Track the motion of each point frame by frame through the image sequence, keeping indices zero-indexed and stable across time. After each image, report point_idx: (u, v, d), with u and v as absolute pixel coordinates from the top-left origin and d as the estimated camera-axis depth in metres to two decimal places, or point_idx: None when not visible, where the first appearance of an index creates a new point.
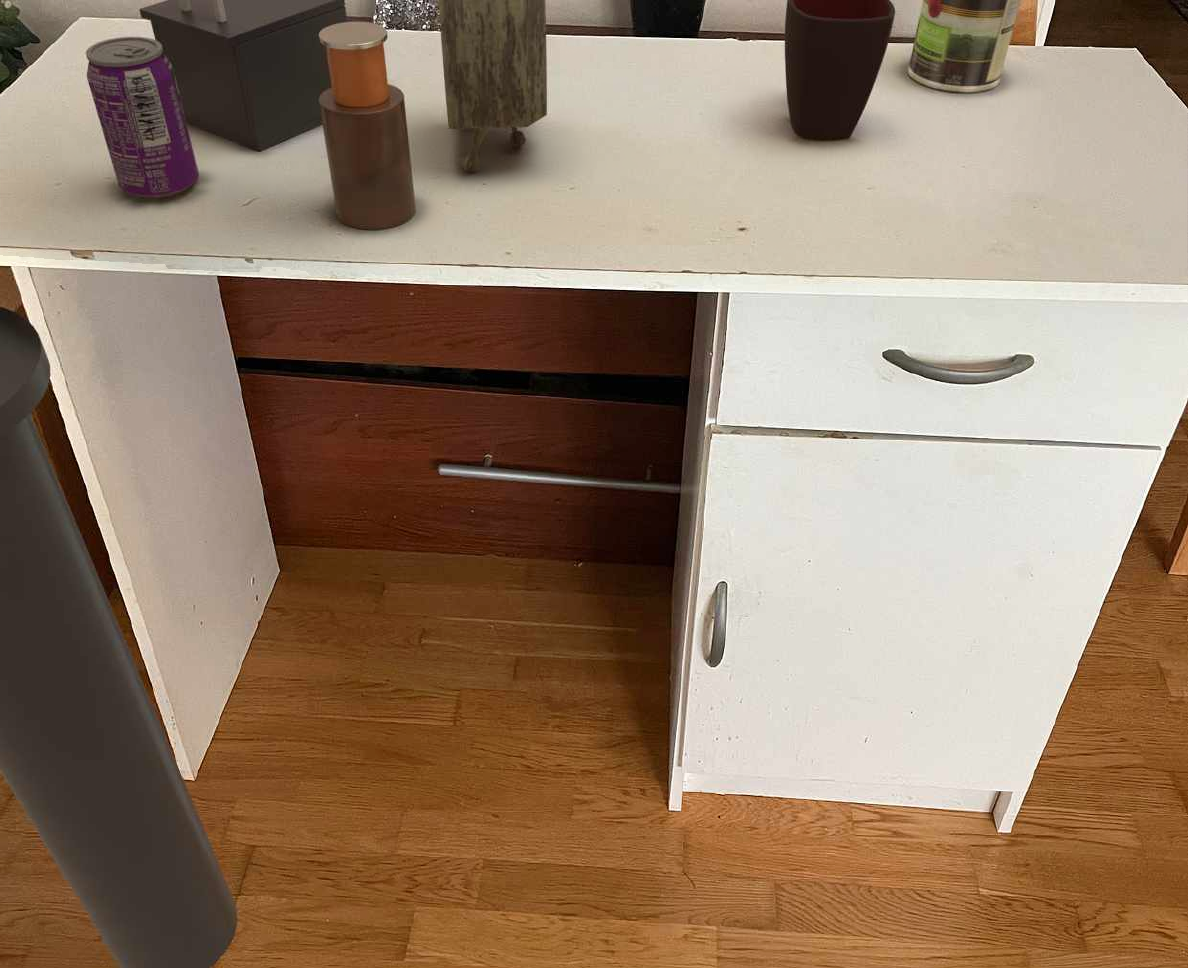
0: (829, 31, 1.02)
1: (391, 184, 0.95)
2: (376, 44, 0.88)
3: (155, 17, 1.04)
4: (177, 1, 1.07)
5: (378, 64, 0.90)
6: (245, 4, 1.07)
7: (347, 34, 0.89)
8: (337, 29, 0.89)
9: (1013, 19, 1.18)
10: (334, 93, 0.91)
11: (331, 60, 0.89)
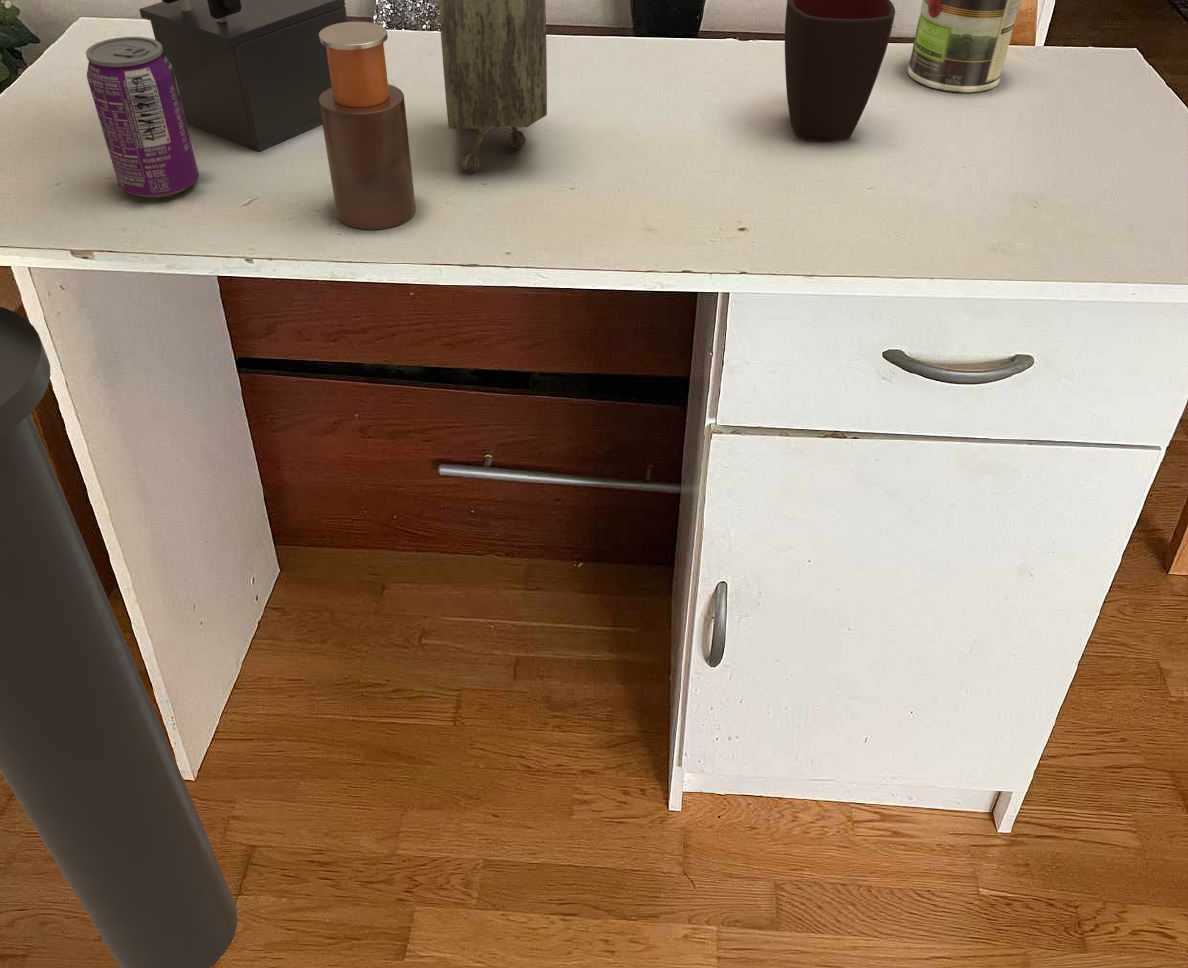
0: (829, 31, 1.02)
1: (391, 184, 0.95)
2: (376, 44, 0.88)
3: (155, 17, 1.04)
4: (177, 1, 1.07)
5: (378, 64, 0.90)
6: (245, 4, 1.07)
7: (347, 34, 0.89)
8: (337, 29, 0.89)
9: (1013, 19, 1.18)
10: (334, 93, 0.91)
11: (331, 60, 0.89)
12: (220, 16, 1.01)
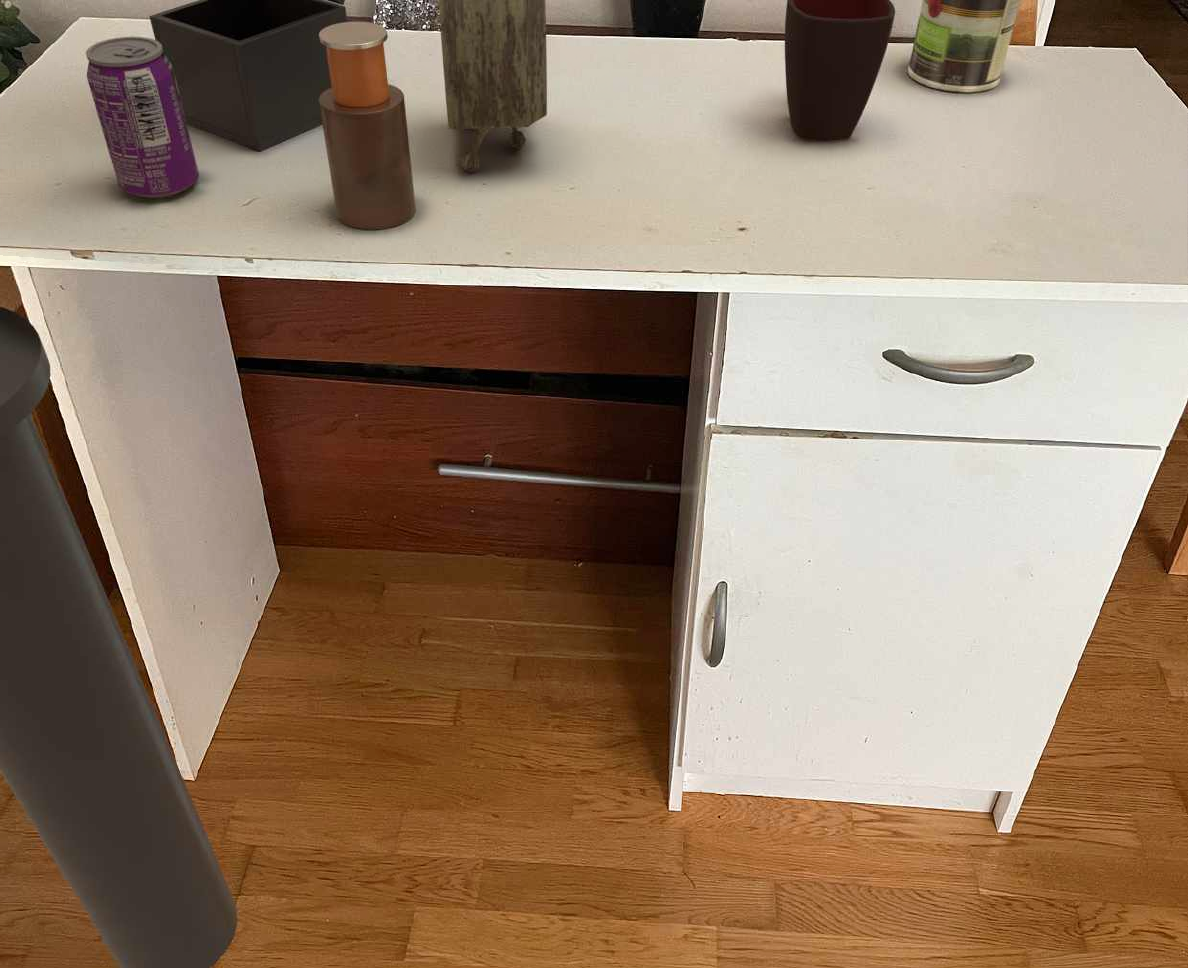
0: (829, 31, 1.02)
1: (391, 184, 0.95)
2: (376, 44, 0.88)
3: None
4: None
5: (378, 64, 0.90)
6: None
7: (347, 34, 0.89)
8: (337, 29, 0.89)
9: (1013, 19, 1.18)
10: (334, 93, 0.91)
11: (331, 60, 0.89)
12: None
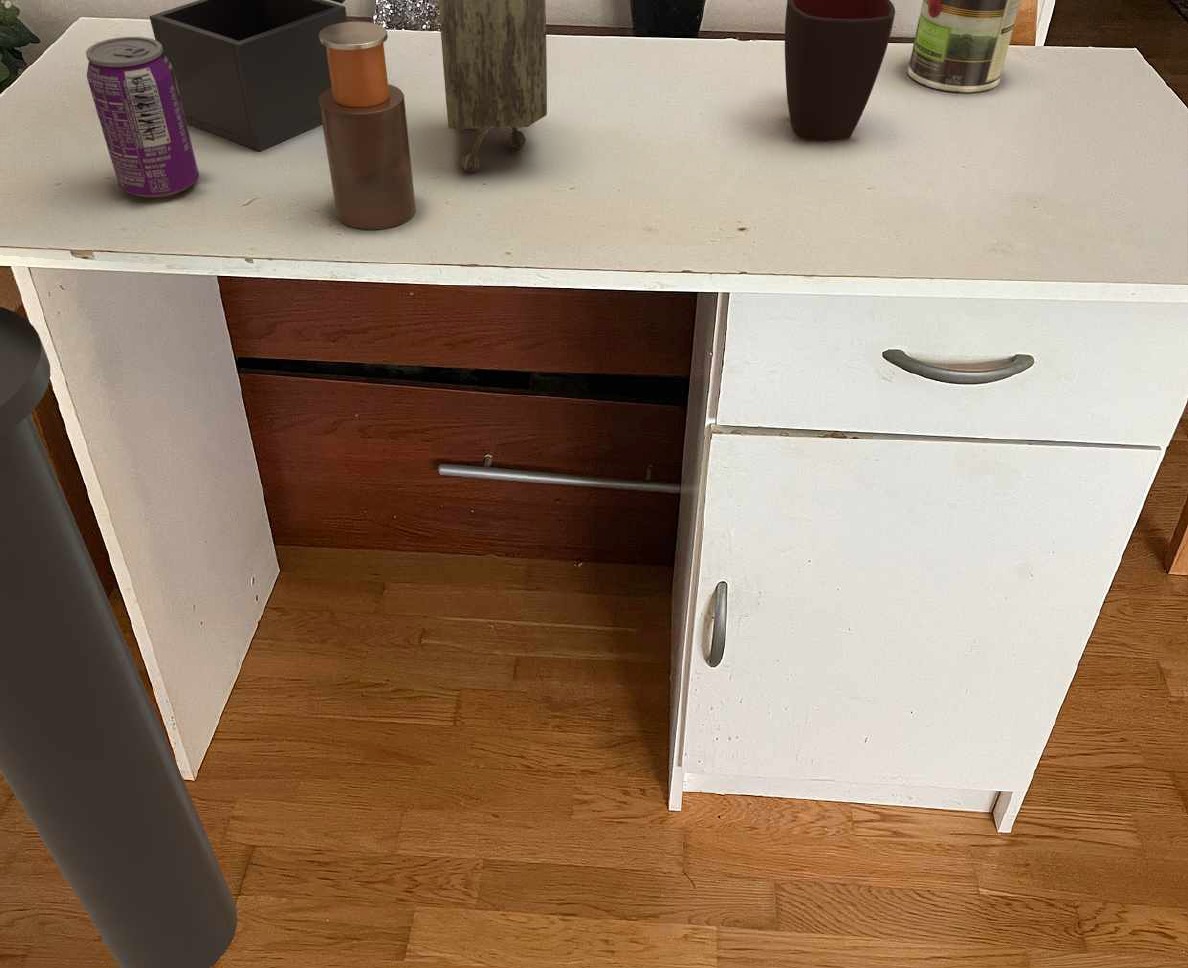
0: (829, 31, 1.02)
1: (391, 184, 0.95)
2: (376, 44, 0.88)
3: None
4: None
5: (378, 64, 0.90)
6: None
7: (347, 34, 0.89)
8: (337, 29, 0.89)
9: (1013, 19, 1.18)
10: (334, 93, 0.91)
11: (331, 60, 0.89)
12: None
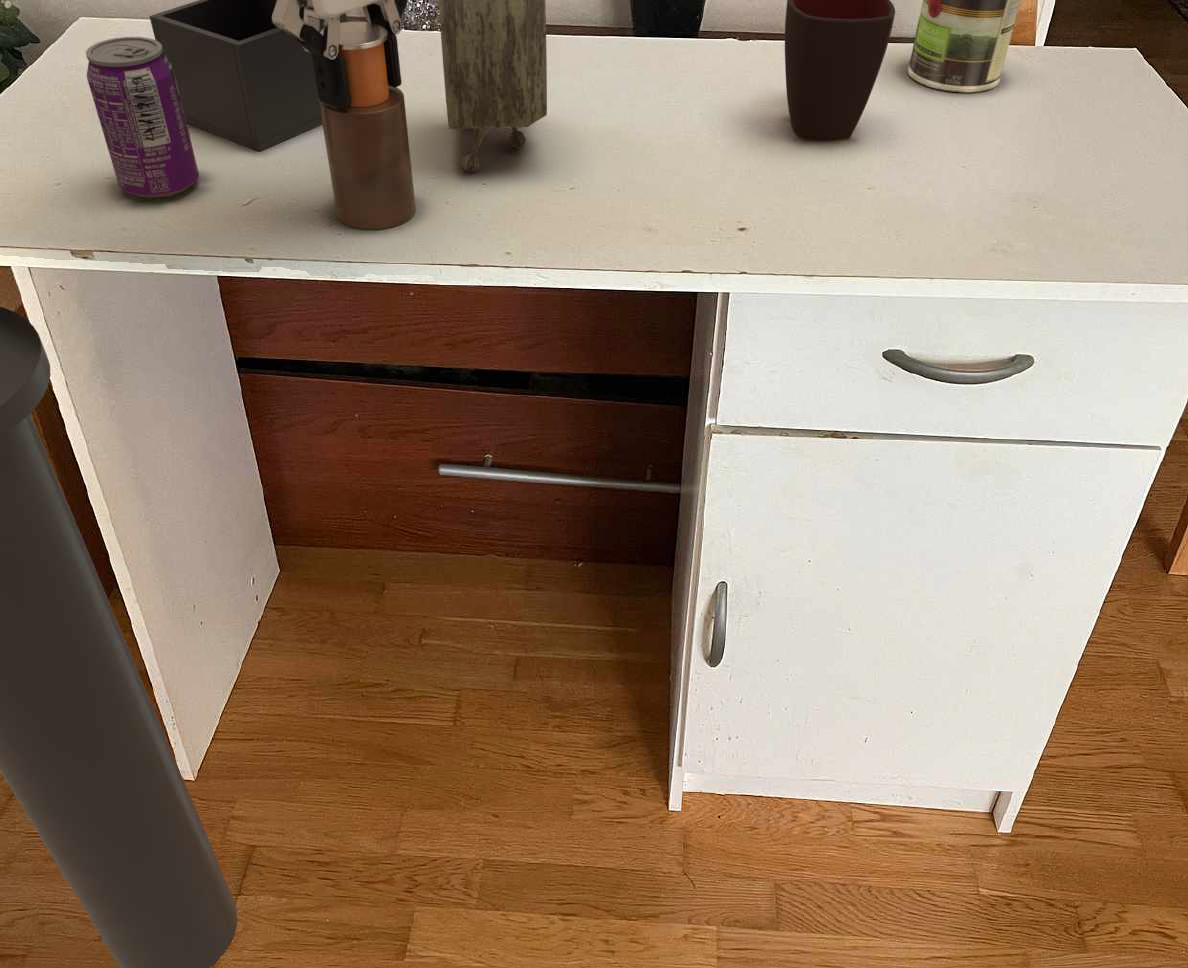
0: (829, 31, 1.02)
1: (391, 184, 0.95)
2: (376, 44, 0.88)
3: None
4: None
5: (378, 64, 0.90)
6: None
7: (347, 34, 0.89)
8: None
9: (1013, 19, 1.18)
10: None
11: None
12: (324, 101, 0.91)
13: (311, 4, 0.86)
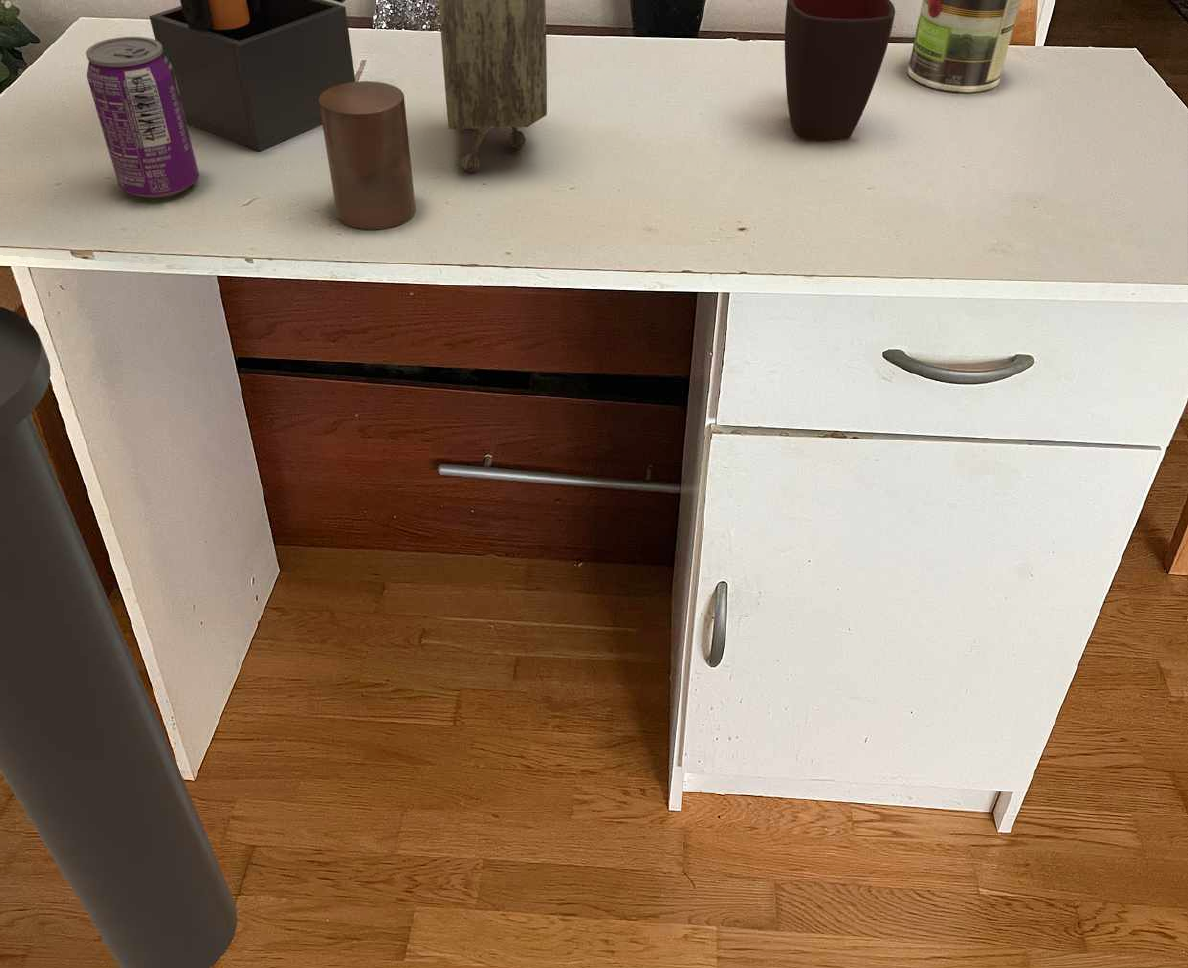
0: (829, 31, 1.02)
1: (391, 184, 0.95)
2: None
3: None
4: None
5: None
6: None
7: None
8: None
9: (1013, 19, 1.18)
10: None
11: None
12: (191, 24, 1.04)
13: None
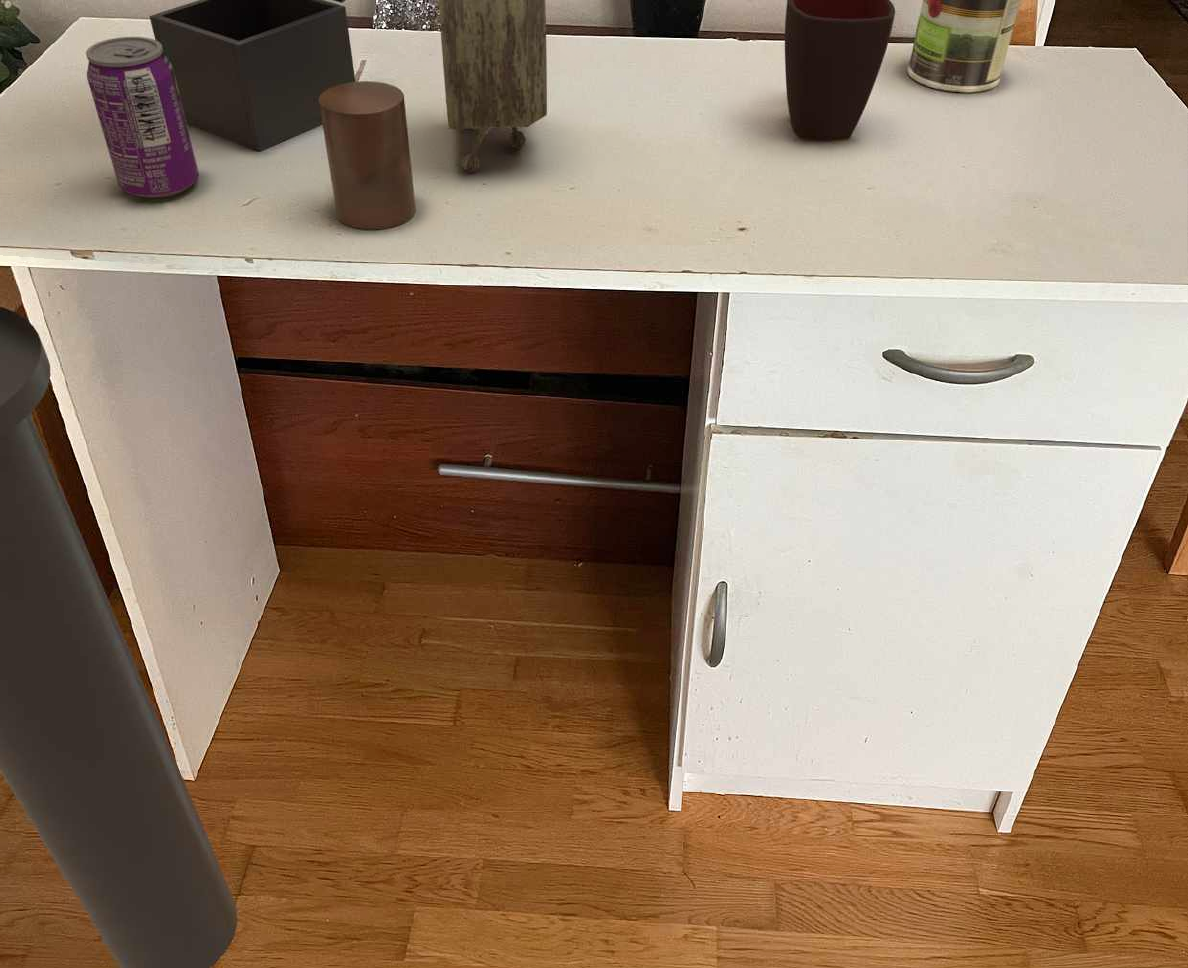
0: (829, 31, 1.02)
1: (391, 184, 0.95)
2: None
3: None
4: None
5: None
6: None
7: None
8: None
9: (1013, 19, 1.18)
10: None
11: None
12: None
13: None
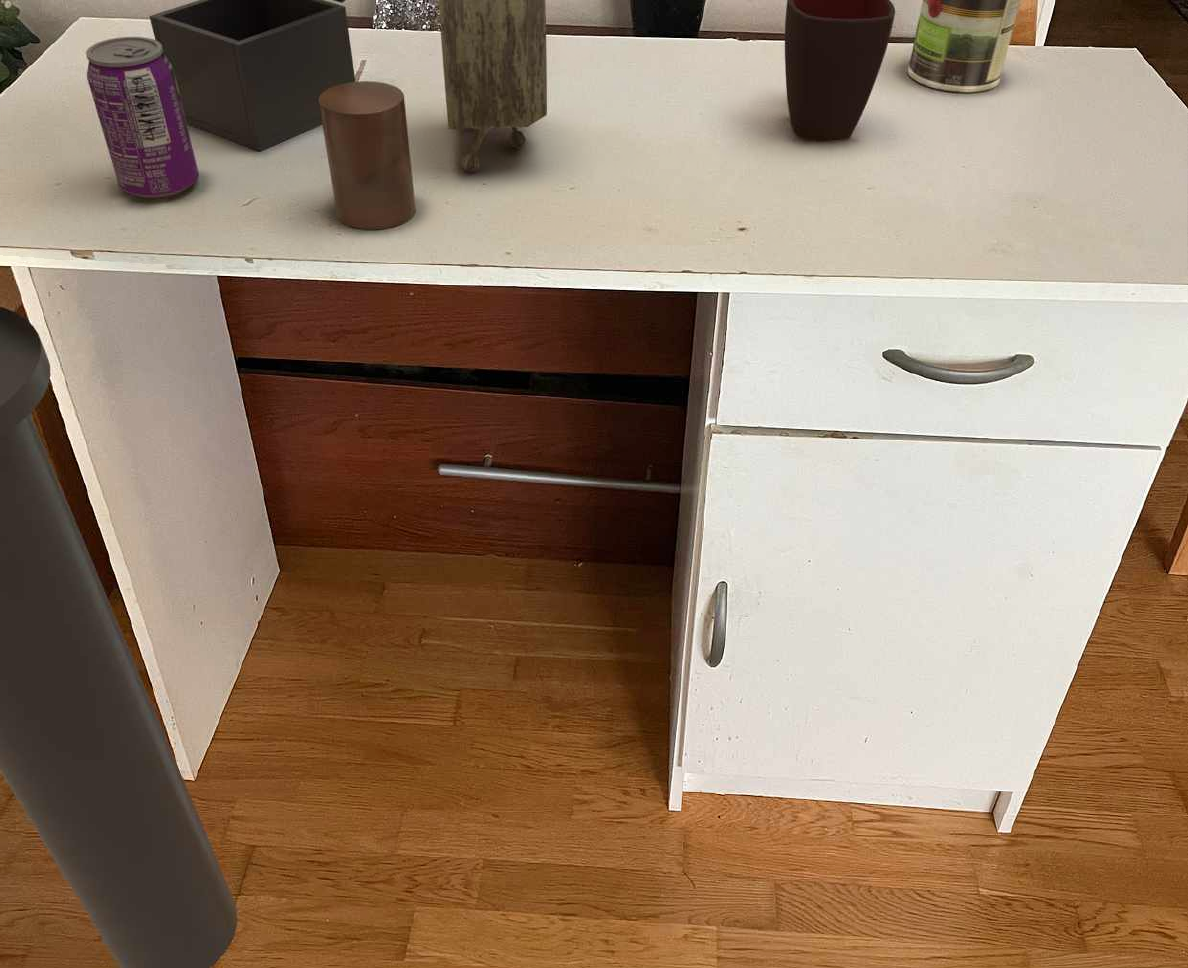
0: (829, 31, 1.02)
1: (391, 184, 0.95)
2: None
3: None
4: None
5: None
6: None
7: None
8: None
9: (1013, 19, 1.18)
10: None
11: None
12: None
13: None
